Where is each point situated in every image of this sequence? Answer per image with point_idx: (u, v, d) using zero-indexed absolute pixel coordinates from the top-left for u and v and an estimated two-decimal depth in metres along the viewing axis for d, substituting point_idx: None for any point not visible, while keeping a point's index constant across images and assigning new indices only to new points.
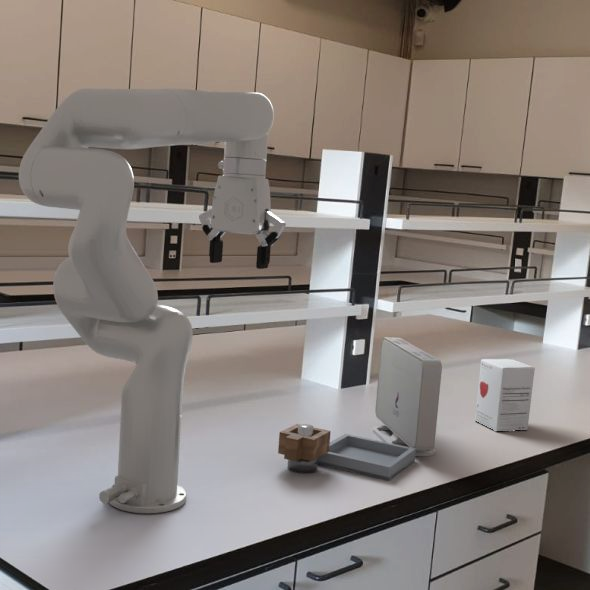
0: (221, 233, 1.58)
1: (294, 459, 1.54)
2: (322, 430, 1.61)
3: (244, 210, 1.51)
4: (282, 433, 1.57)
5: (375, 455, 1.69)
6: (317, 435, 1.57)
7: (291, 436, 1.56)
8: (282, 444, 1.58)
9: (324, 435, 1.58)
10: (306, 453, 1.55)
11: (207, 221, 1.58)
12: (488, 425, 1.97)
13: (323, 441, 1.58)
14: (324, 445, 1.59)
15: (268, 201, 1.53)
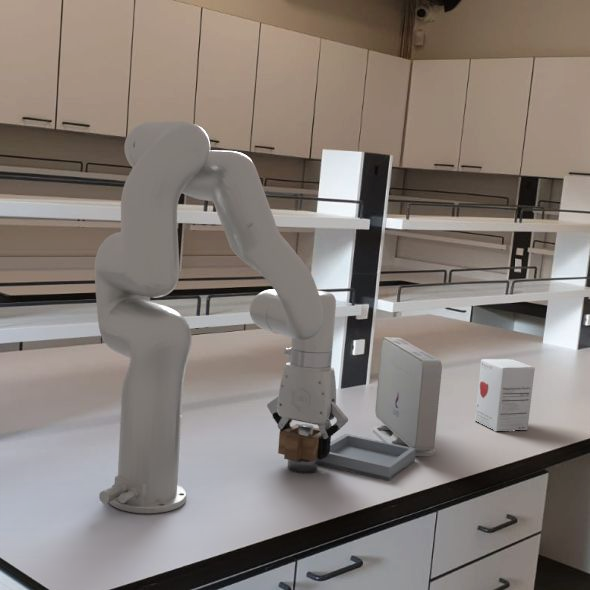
0: (290, 419, 1.61)
1: (294, 459, 1.54)
2: None
3: (311, 401, 1.55)
4: (282, 433, 1.57)
5: (375, 455, 1.69)
6: (317, 435, 1.57)
7: (291, 436, 1.56)
8: (282, 444, 1.58)
9: None
10: (306, 453, 1.55)
11: (275, 409, 1.61)
12: (488, 425, 1.97)
13: None
14: None
15: (334, 391, 1.56)
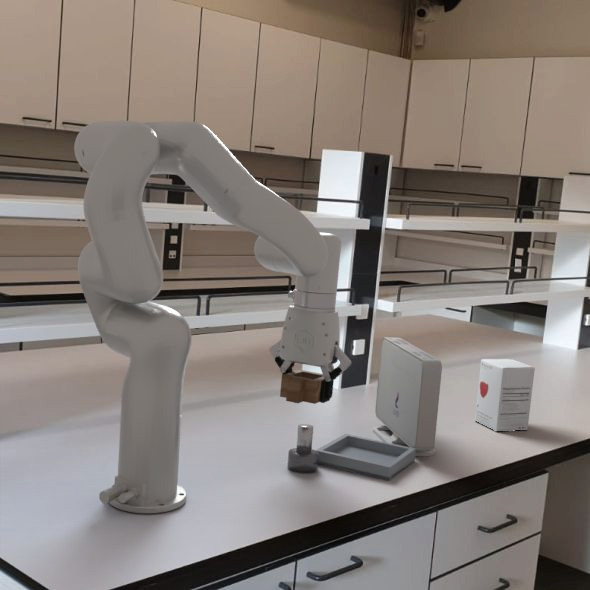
0: (292, 363, 1.60)
1: (296, 401, 1.53)
2: None
3: (315, 343, 1.53)
4: (284, 376, 1.56)
5: (375, 455, 1.69)
6: (320, 378, 1.56)
7: (294, 378, 1.54)
8: (284, 387, 1.56)
9: None
10: (308, 396, 1.54)
11: (278, 353, 1.60)
12: (488, 425, 1.97)
13: None
14: None
15: (338, 333, 1.55)
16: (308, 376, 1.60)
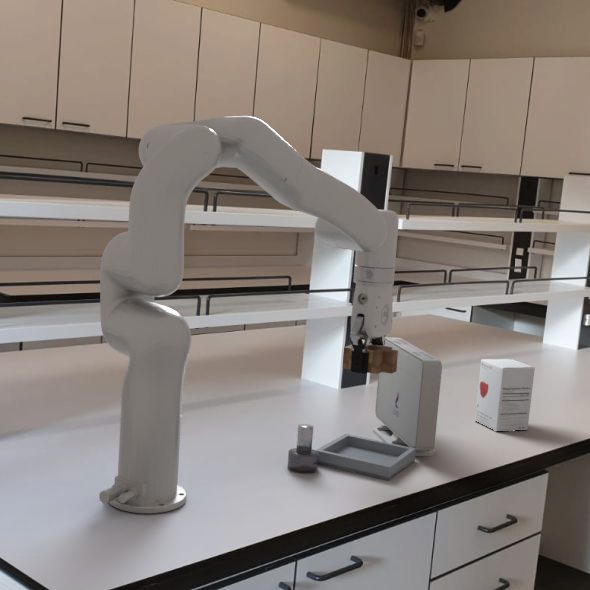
0: None
1: (396, 370, 1.62)
2: None
3: (389, 313, 1.63)
4: (379, 353, 1.60)
5: (375, 455, 1.69)
6: (377, 345, 1.66)
7: (389, 351, 1.61)
8: (379, 363, 1.60)
9: (371, 344, 1.67)
10: None
11: (358, 336, 1.58)
12: (488, 425, 1.97)
13: None
14: None
15: None
16: None
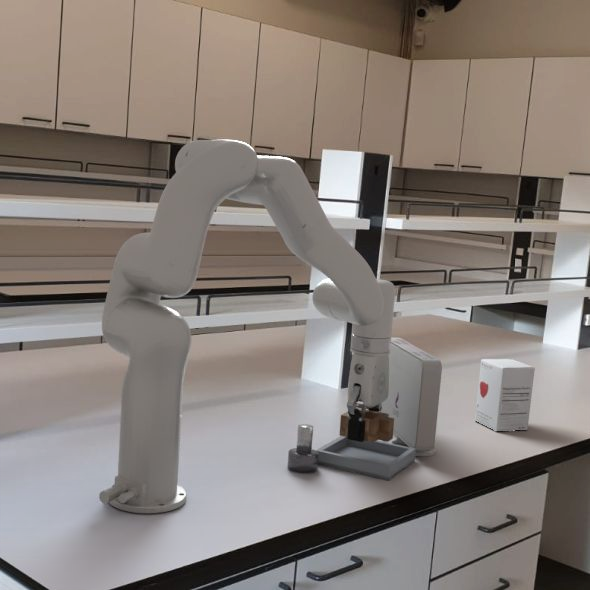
0: None
1: (392, 437, 1.64)
2: None
3: (385, 381, 1.65)
4: (376, 421, 1.62)
5: (375, 455, 1.69)
6: (374, 412, 1.68)
7: (385, 419, 1.63)
8: (375, 432, 1.62)
9: (368, 410, 1.69)
10: None
11: (355, 405, 1.60)
12: (488, 425, 1.97)
13: None
14: None
15: None
16: None
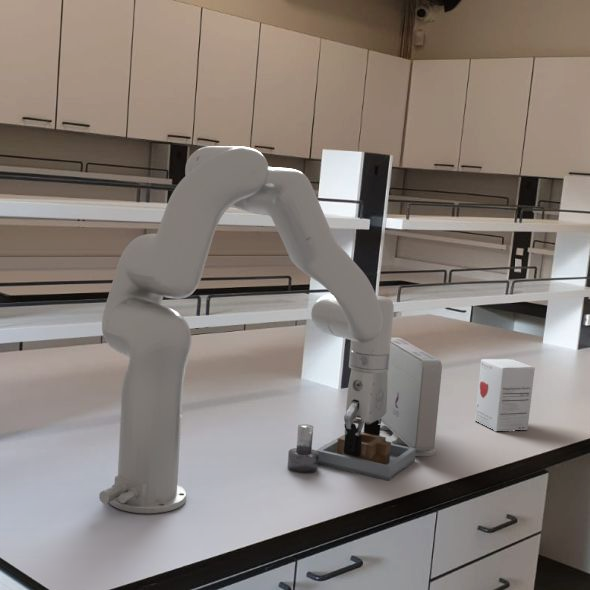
0: None
1: (388, 461, 1.65)
2: None
3: (383, 397, 1.66)
4: (372, 445, 1.62)
5: None
6: (371, 435, 1.68)
7: (382, 443, 1.64)
8: (372, 456, 1.62)
9: (365, 433, 1.70)
10: None
11: (352, 420, 1.59)
12: (488, 425, 1.97)
13: None
14: None
15: None
16: None
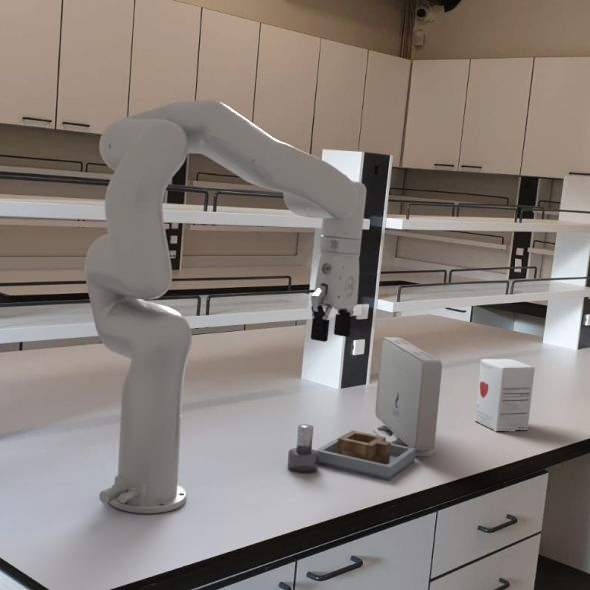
0: None
1: (388, 461, 1.65)
2: (353, 432, 1.69)
3: (354, 286, 1.62)
4: (372, 445, 1.62)
5: None
6: (371, 435, 1.68)
7: (382, 443, 1.64)
8: (372, 456, 1.62)
9: (365, 433, 1.70)
10: None
11: (319, 302, 1.56)
12: (488, 425, 1.97)
13: None
14: None
15: None
16: None
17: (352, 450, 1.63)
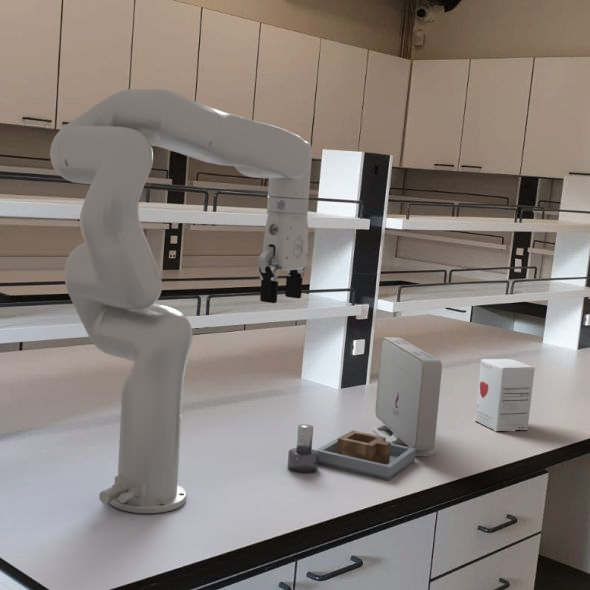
0: None
1: (388, 461, 1.65)
2: (353, 432, 1.69)
3: (303, 247, 1.61)
4: (372, 445, 1.62)
5: None
6: (371, 435, 1.68)
7: (382, 443, 1.64)
8: (372, 456, 1.62)
9: (365, 433, 1.70)
10: None
11: (267, 263, 1.54)
12: (488, 425, 1.97)
13: None
14: None
15: None
16: None
17: (352, 450, 1.63)
